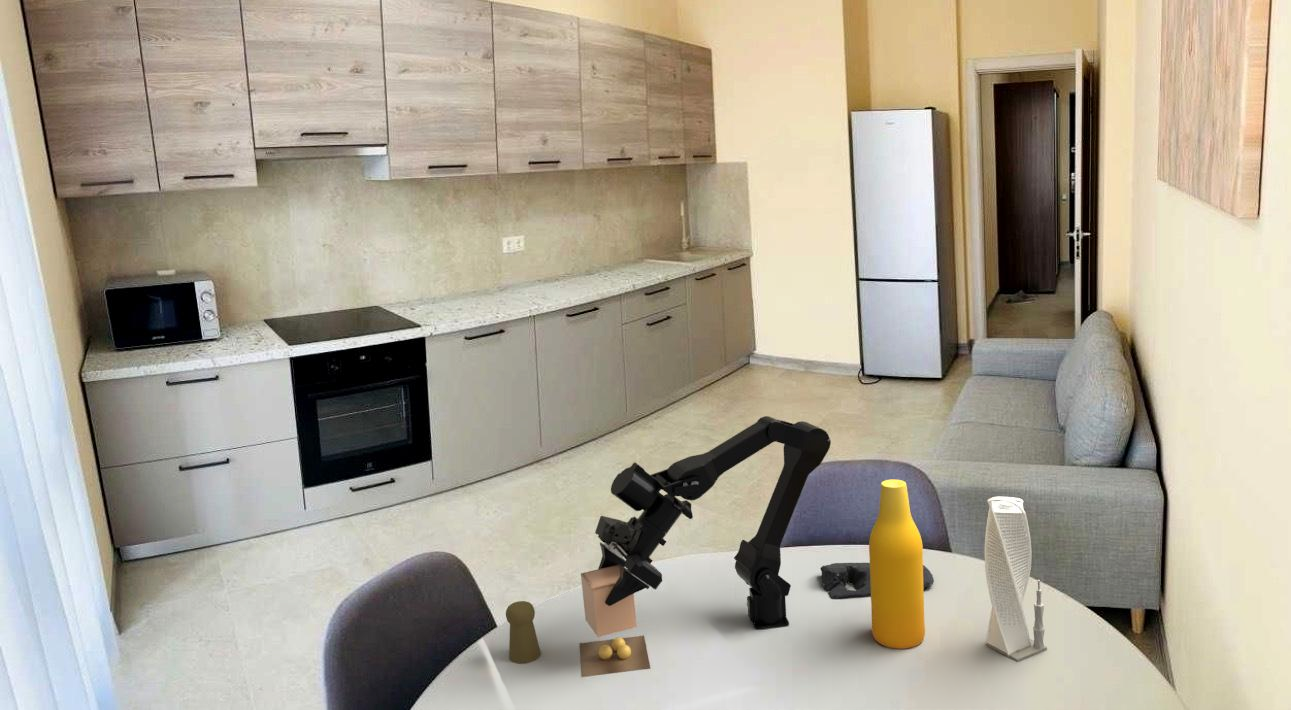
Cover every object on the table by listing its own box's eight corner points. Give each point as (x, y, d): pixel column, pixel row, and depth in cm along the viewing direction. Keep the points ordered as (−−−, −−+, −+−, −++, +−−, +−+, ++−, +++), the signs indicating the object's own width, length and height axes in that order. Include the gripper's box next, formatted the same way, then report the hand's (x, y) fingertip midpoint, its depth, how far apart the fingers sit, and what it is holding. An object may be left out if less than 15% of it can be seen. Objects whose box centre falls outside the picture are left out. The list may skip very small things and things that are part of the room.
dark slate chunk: (939, 598, 186) (939, 575, 185) (825, 602, 188) (824, 579, 187) (924, 565, 201) (924, 544, 200) (818, 569, 203) (817, 548, 202)
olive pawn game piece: (536, 669, 171) (530, 612, 169) (504, 668, 172) (497, 611, 170) (546, 652, 177) (540, 597, 174) (515, 651, 178) (509, 596, 176)
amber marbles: (623, 646, 175) (622, 633, 174) (633, 659, 170) (632, 646, 169) (594, 653, 173) (593, 640, 173) (604, 667, 168) (603, 654, 168)
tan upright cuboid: (623, 610, 175) (618, 564, 173) (636, 627, 168) (632, 579, 166) (585, 619, 172) (580, 573, 171) (597, 637, 166) (592, 588, 164)
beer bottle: (929, 628, 174) (925, 476, 168) (920, 653, 166) (916, 494, 160) (877, 621, 178) (872, 473, 172) (867, 645, 170) (861, 490, 164)
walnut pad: (644, 640, 178) (643, 635, 178) (651, 673, 166) (650, 668, 166) (580, 648, 177) (579, 643, 177) (582, 682, 165) (581, 676, 165)
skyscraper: (1011, 664, 160) (1010, 505, 154) (974, 644, 167) (972, 492, 161) (1046, 649, 164) (1047, 494, 158) (1009, 630, 171) (1008, 481, 165)
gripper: (604, 485, 176) (552, 554, 174) (638, 516, 158) (581, 593, 157) (647, 516, 180) (597, 584, 178) (686, 551, 163) (630, 626, 161)
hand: (600, 596), depth 169 cm, fingers closed on tan upright cuboid, 7 cm apart
